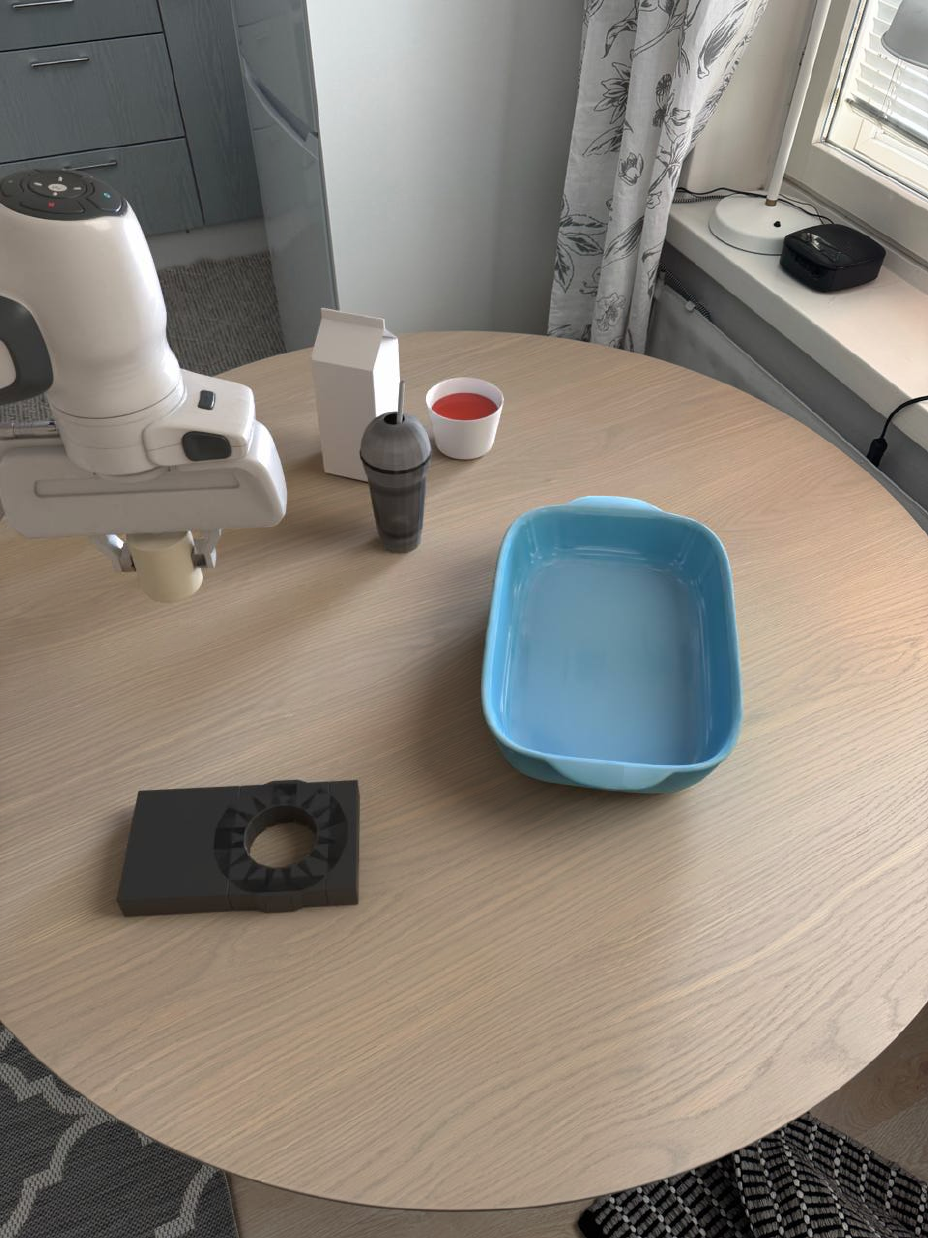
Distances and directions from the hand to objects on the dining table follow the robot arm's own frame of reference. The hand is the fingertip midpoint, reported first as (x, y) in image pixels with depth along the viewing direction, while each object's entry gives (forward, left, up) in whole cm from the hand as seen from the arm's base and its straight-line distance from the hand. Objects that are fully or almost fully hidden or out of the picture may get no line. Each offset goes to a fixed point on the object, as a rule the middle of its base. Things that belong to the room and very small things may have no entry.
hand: (167, 565), depth 79 cm
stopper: (0, 0, -2) cm, 2 cm away
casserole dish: (+37, +2, -18) cm, 41 cm away
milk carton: (+14, +36, -18) cm, 43 cm away
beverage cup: (+18, +22, -18) cm, 34 cm away
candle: (+26, +39, -18) cm, 50 cm away
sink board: (+5, -16, -17) cm, 24 cm away
